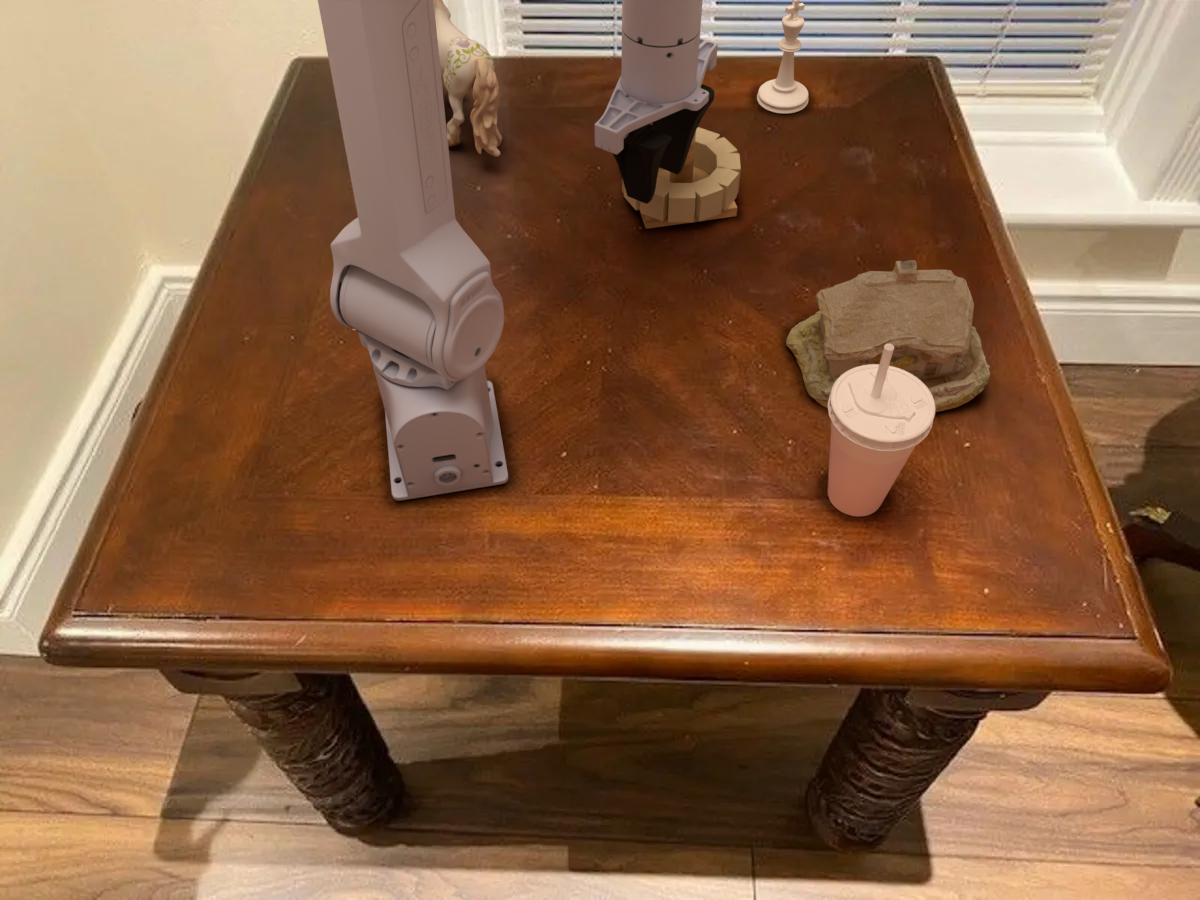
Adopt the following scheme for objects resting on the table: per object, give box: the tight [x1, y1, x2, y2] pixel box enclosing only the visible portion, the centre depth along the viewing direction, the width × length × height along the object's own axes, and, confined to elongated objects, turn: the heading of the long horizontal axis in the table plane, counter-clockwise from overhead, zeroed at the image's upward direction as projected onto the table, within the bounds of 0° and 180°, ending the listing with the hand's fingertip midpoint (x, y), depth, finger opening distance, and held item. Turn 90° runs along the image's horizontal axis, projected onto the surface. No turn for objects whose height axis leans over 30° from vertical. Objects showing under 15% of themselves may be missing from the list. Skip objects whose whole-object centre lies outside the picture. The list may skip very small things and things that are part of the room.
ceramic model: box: [785, 259, 991, 413], centre depth 74 cm, size 14×11×10 cm
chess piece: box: [756, 0, 809, 115], centre depth 95 cm, size 5×5×10 cm
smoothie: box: [827, 344, 936, 517], centre depth 65 cm, size 6×6×14 cm
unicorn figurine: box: [434, 0, 503, 158], centre depth 93 cm, size 7×20×13 cm, turn 48°
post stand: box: [638, 132, 738, 230], centre depth 88 cm, size 8×8×6 cm
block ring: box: [621, 126, 742, 224], centre depth 89 cm, size 10×10×3 cm
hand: (654, 182), depth 85 cm, fingers open, 4 cm apart
